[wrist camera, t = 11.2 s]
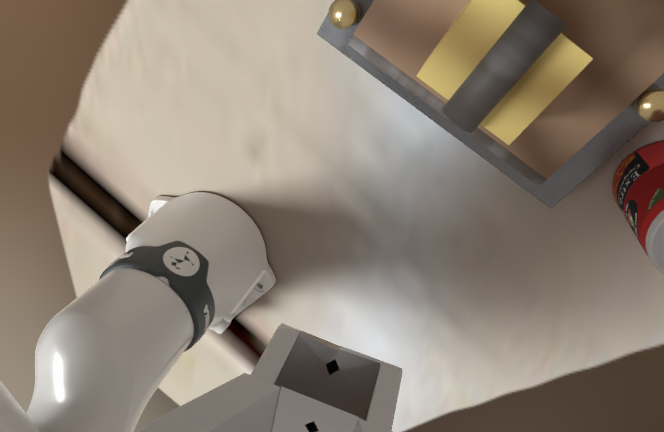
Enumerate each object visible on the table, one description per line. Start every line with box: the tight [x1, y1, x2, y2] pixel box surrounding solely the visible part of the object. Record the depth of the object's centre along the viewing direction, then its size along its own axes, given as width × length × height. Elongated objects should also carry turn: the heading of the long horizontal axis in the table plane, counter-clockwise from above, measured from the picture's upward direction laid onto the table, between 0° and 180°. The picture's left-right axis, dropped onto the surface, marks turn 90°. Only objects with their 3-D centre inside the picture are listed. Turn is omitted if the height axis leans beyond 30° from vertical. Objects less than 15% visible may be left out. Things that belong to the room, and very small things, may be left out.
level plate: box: [348, 0, 664, 186], centre depth 29 cm, size 19×20×10 cm
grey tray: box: [317, 0, 664, 208], centre depth 34 cm, size 22×26×5 cm
